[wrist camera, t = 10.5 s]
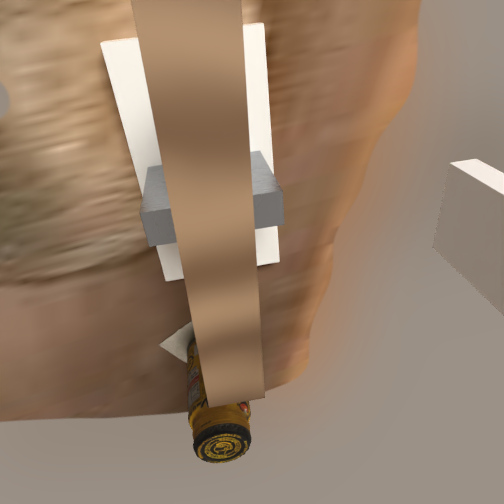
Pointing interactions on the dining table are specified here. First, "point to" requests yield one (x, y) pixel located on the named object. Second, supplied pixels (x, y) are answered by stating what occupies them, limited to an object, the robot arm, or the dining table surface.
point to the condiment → (209, 419)
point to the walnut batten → (208, 180)
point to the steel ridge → (159, 211)
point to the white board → (144, 134)
